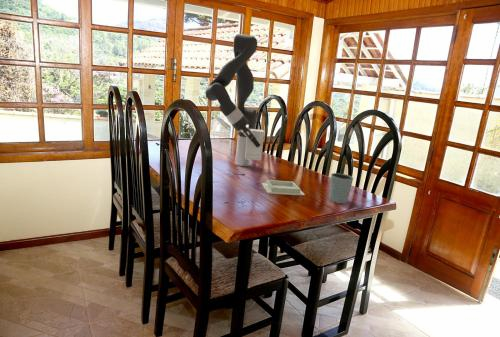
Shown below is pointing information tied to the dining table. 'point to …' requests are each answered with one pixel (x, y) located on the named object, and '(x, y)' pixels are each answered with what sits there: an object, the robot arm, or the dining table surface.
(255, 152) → the skincare box
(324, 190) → the dining table surface
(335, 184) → the grey plant pot
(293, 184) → the tray
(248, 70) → the robot arm
